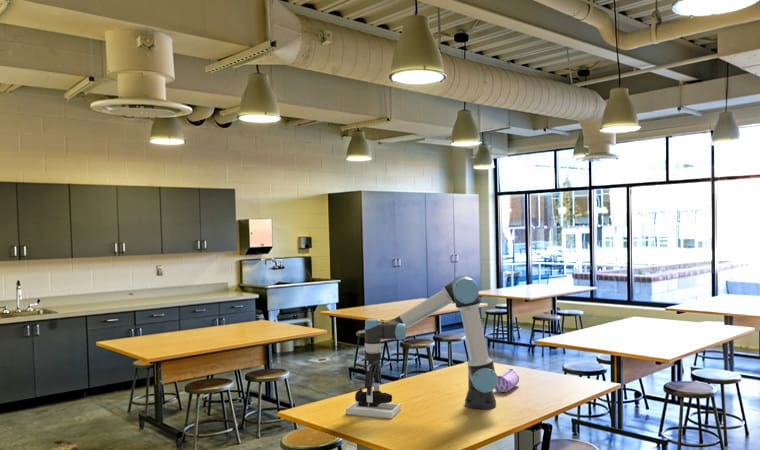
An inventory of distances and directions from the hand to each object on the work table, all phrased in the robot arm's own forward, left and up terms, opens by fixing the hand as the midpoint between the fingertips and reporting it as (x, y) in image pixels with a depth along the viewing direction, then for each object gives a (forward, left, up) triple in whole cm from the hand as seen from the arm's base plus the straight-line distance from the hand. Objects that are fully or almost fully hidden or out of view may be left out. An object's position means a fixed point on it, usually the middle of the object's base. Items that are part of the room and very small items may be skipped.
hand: (373, 399), depth 284 cm
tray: (0, 0, -6) cm, 6 cm away
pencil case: (-54, -64, -7) cm, 84 cm away
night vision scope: (0, 0, -3) cm, 3 cm away
